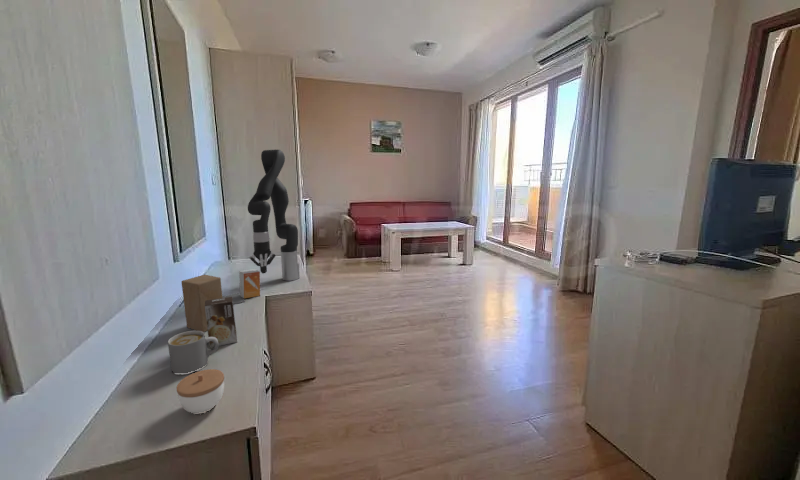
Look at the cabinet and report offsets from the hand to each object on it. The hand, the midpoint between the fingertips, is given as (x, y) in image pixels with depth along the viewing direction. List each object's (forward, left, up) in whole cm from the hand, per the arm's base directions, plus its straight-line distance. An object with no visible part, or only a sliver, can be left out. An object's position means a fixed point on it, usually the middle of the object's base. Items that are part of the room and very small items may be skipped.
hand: (263, 273), depth 171 cm
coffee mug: (+37, +56, -11) cm, 68 cm away
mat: (+20, 0, -11) cm, 23 cm away
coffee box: (+27, +44, -11) cm, 53 cm away
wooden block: (+30, +25, -11) cm, 41 cm away
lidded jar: (+38, +80, -11) cm, 89 cm away
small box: (+7, 0, -11) cm, 13 cm away
